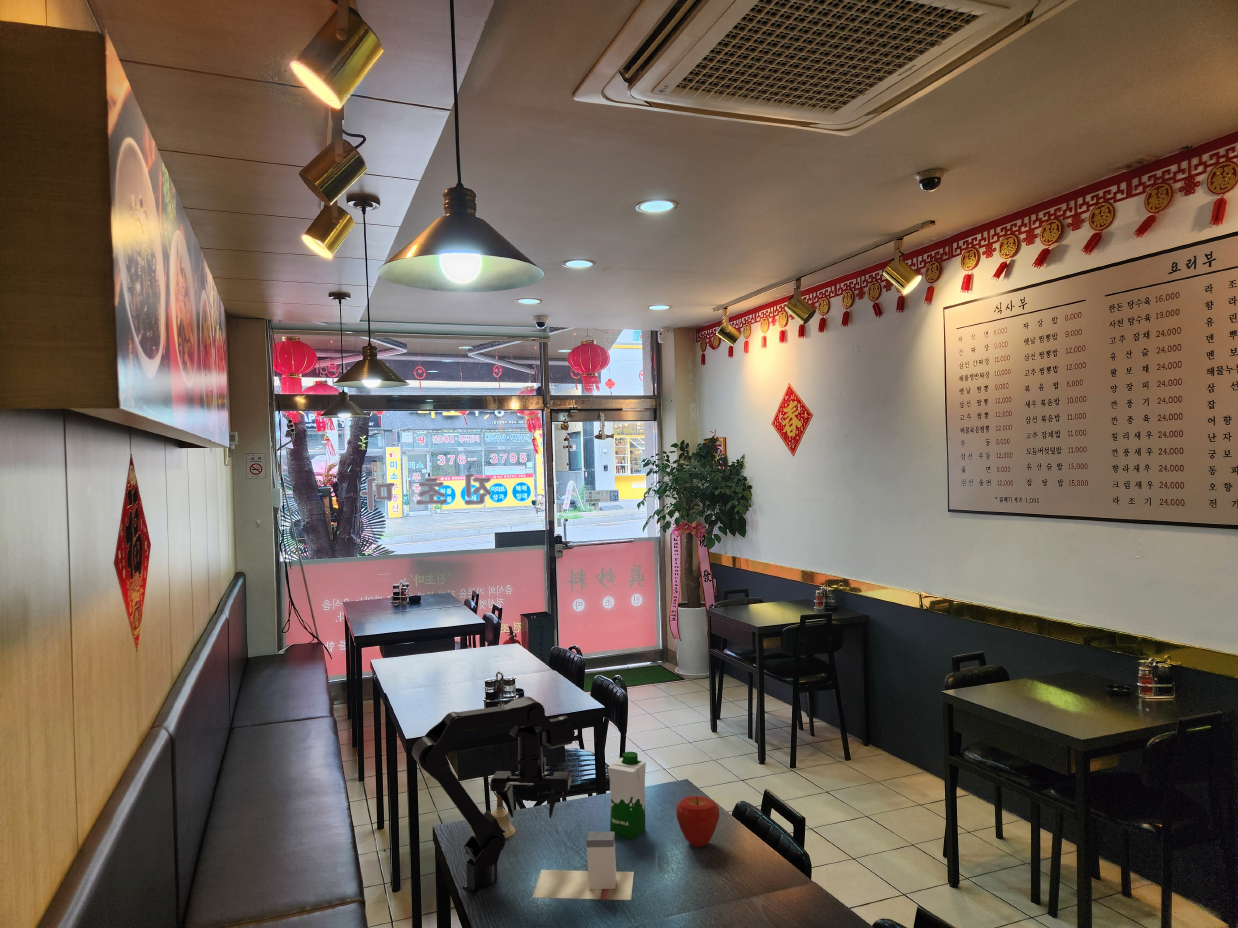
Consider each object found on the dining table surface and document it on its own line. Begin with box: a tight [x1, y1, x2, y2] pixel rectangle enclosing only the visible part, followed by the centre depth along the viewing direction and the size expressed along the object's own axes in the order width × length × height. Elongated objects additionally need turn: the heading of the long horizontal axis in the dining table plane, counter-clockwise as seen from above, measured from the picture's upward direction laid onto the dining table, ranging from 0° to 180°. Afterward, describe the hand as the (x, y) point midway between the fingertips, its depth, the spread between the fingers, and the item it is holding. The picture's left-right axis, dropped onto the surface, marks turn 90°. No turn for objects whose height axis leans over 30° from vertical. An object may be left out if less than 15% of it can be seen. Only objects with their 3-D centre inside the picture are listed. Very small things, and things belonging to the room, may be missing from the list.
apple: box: [676, 795, 720, 848], centre depth 198 cm, size 11×11×12 cm
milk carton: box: [607, 751, 647, 842], centre depth 205 cm, size 9×9×20 cm
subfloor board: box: [532, 869, 635, 901], centre depth 177 cm, size 22×12×1 cm, turn 86°
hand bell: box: [491, 794, 517, 839], centre depth 206 cm, size 8×8×16 cm
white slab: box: [586, 831, 617, 889], centre depth 177 cm, size 6×4×11 cm
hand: (531, 816), depth 185 cm, fingers open, 9 cm apart
